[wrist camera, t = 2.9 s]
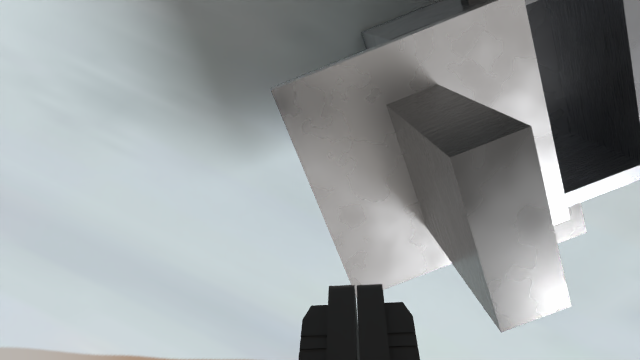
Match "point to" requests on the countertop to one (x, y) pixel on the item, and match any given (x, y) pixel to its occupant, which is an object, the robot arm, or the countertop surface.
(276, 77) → the countertop surface
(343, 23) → the countertop surface
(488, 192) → the lid
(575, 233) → the grey rectangular container
